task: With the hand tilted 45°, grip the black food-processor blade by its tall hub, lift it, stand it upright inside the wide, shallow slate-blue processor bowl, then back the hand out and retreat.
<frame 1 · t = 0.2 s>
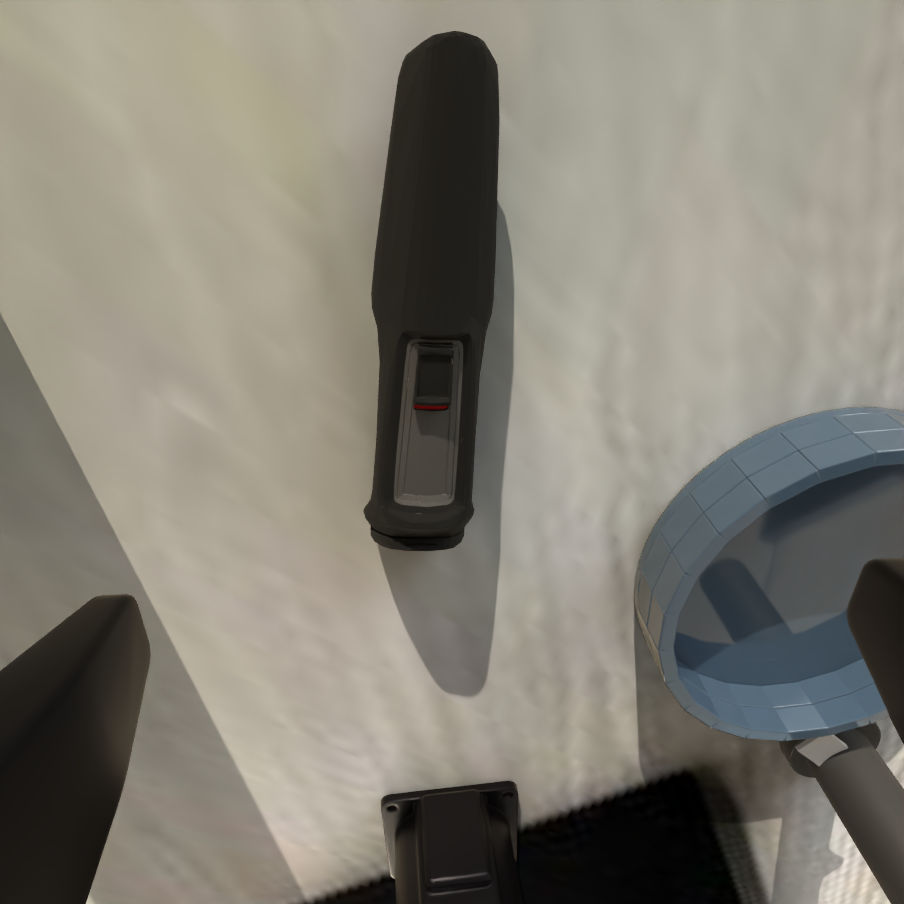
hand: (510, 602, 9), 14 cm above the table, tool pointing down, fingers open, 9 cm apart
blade: (823, 731, 35), on the table
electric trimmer: (421, 330, 22), on the table
bowl: (805, 562, 29), on the table
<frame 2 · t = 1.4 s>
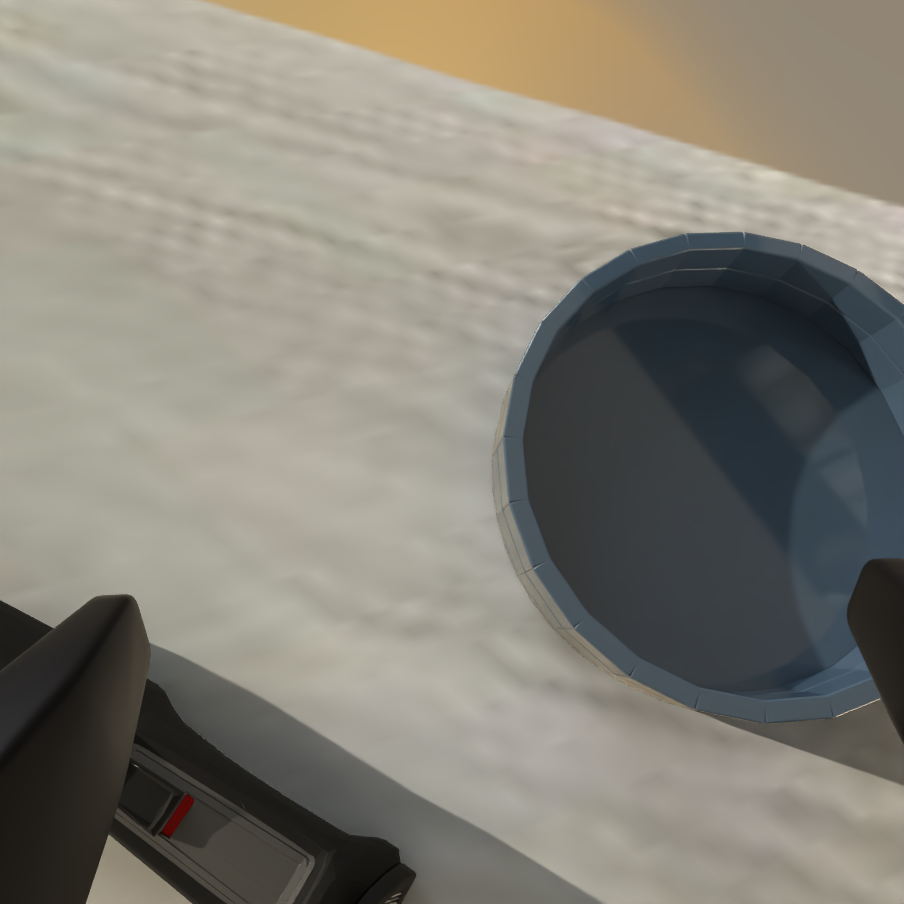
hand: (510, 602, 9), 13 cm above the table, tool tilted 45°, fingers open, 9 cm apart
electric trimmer: (164, 771, 20), on the table
bowl: (709, 478, 23), on the table
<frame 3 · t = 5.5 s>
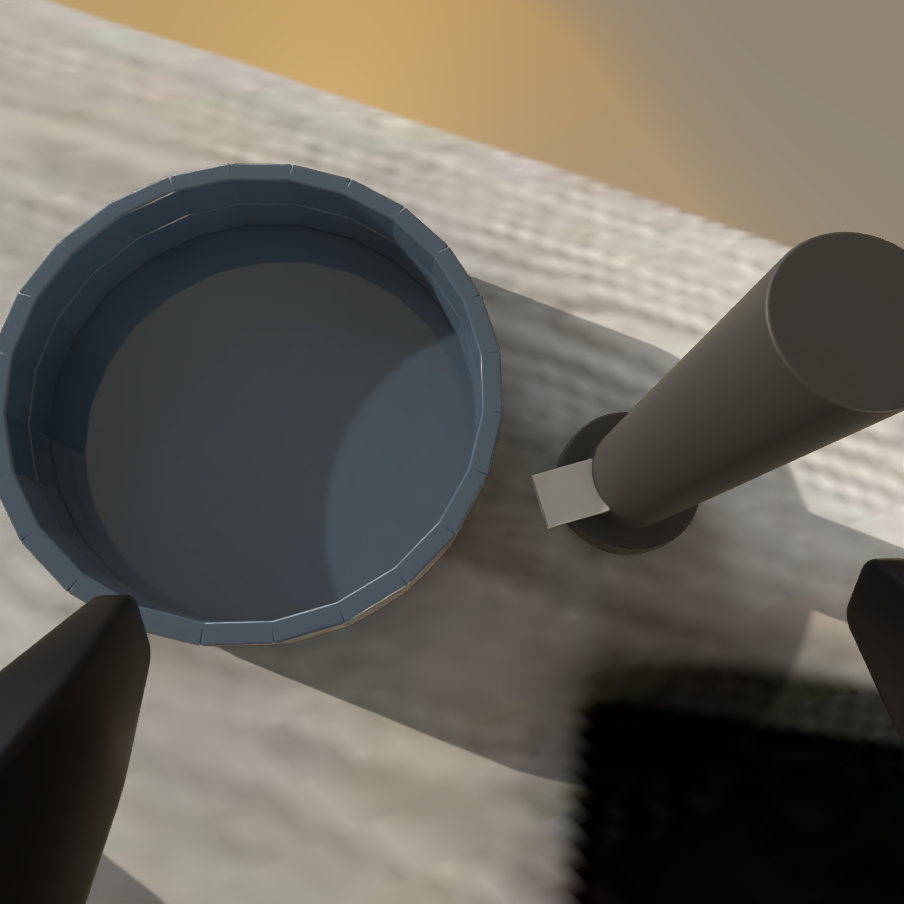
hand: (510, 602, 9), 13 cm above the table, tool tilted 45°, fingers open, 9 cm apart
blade: (622, 486, 23), on the table
bowl: (270, 414, 23), on the table
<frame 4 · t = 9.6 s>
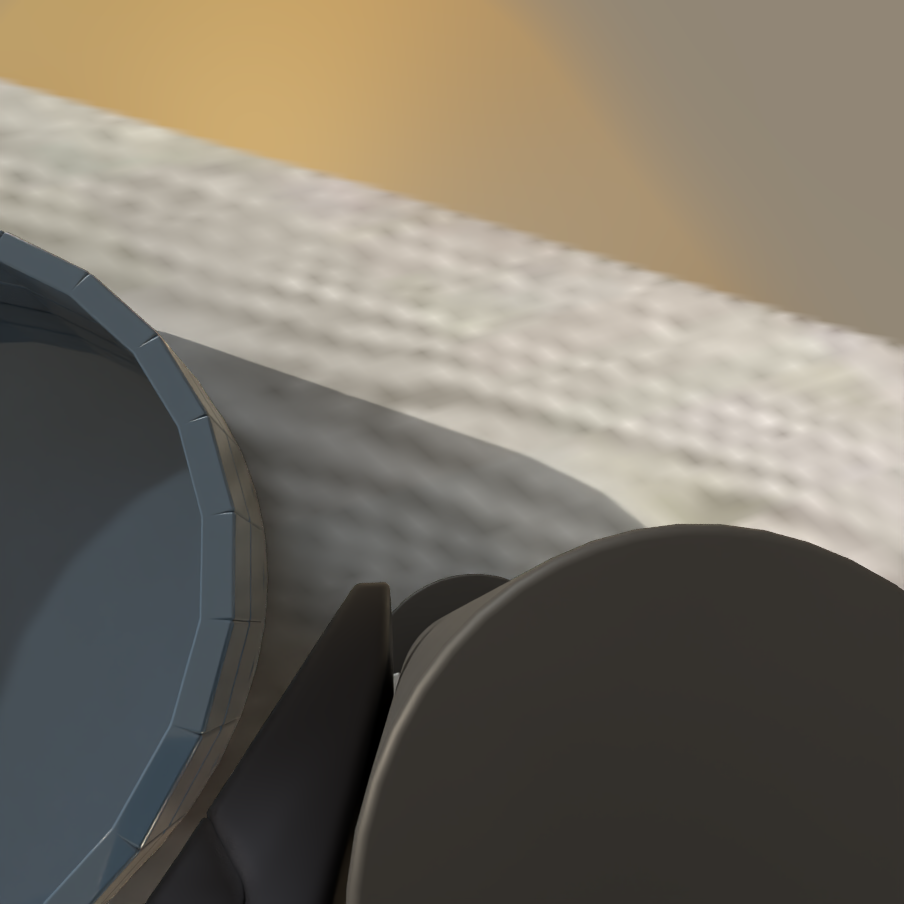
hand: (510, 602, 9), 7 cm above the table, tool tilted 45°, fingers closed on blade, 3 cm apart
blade: (472, 684, 15), on the table, touching gripper
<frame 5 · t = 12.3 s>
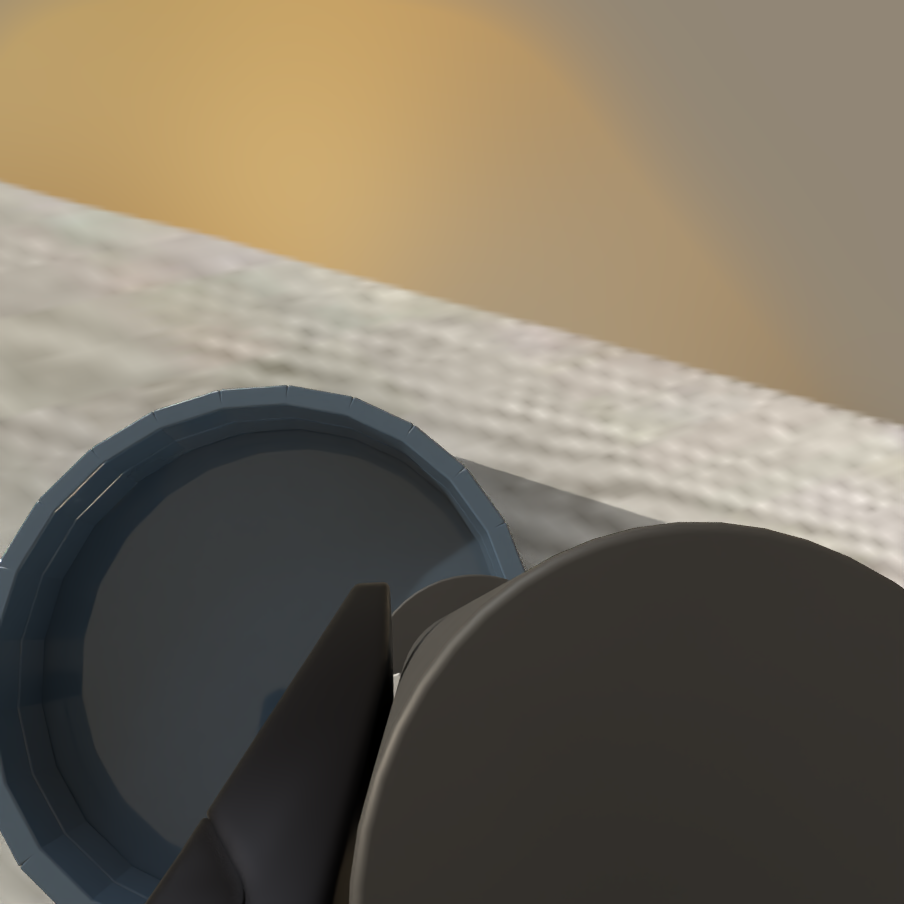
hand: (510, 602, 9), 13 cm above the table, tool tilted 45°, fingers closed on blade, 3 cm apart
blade: (472, 684, 15), point 6 cm above the table, touching gripper
bowl: (281, 648, 21), on the table
when the fingers open (7 cm above the table, at t = 14.9 s): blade stays where it is, resting on bowl.
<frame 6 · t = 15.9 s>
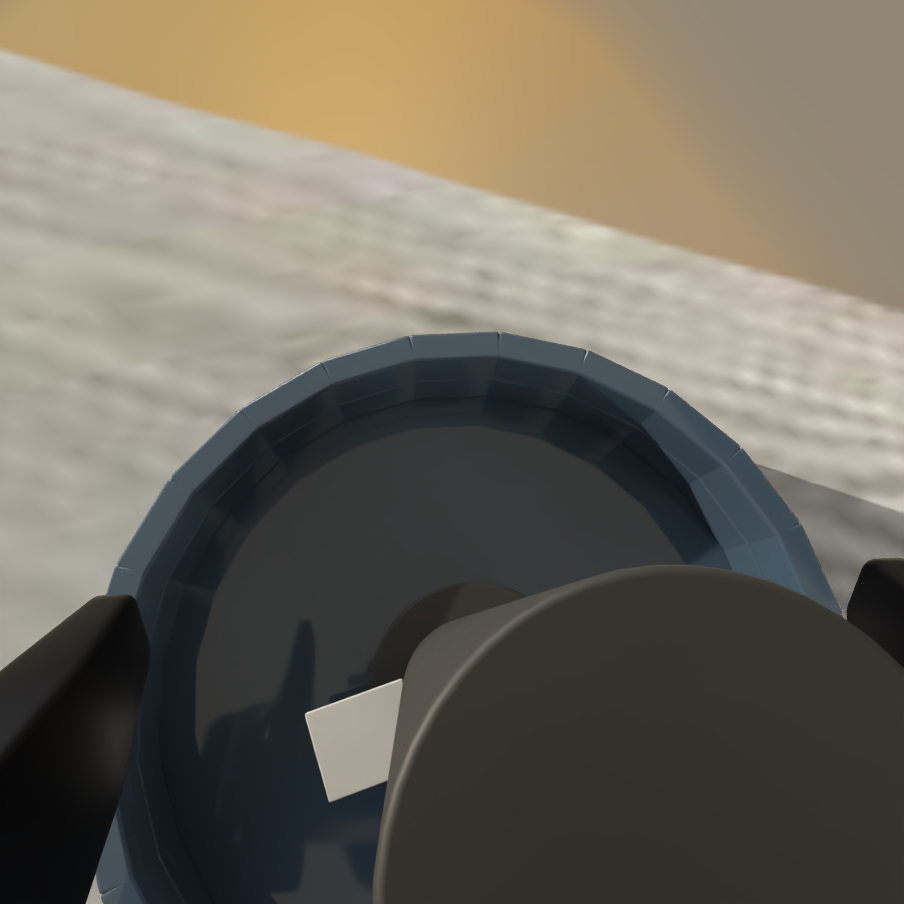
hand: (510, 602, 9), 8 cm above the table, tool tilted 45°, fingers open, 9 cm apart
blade: (472, 688, 15), resting on bowl
bowl: (468, 682, 16), on the table
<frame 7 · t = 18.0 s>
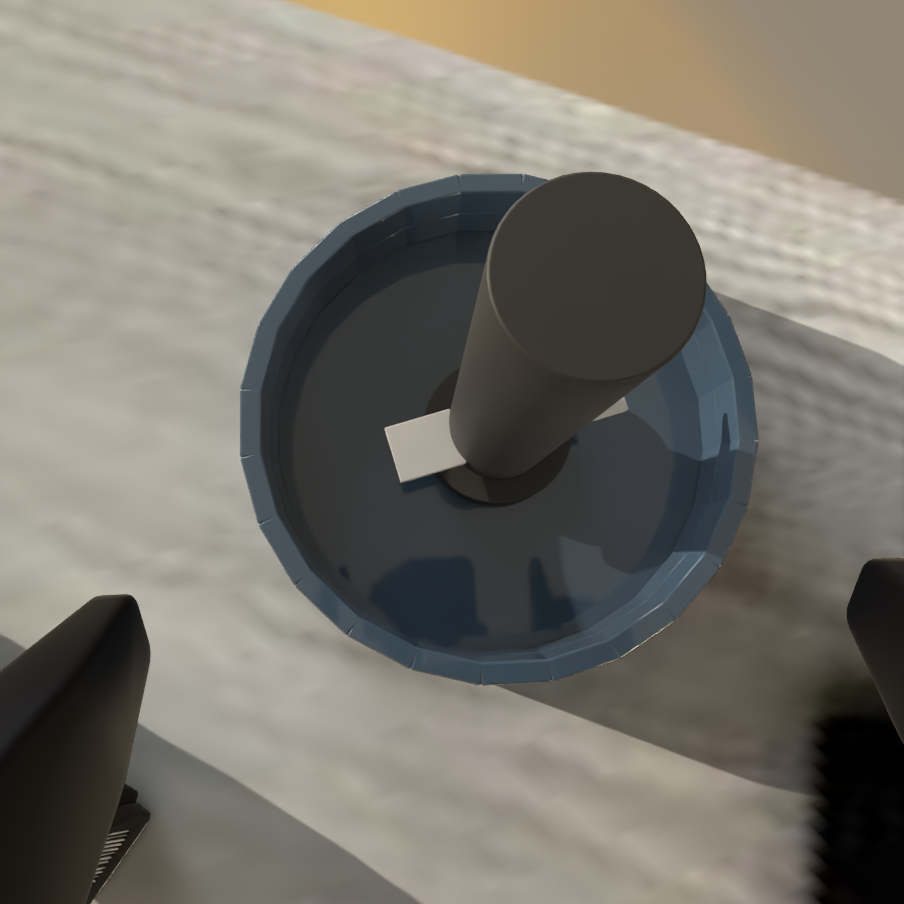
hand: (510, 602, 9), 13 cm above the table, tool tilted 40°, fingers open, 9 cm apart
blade: (494, 434, 22), resting on bowl
bowl: (491, 433, 22), on the table
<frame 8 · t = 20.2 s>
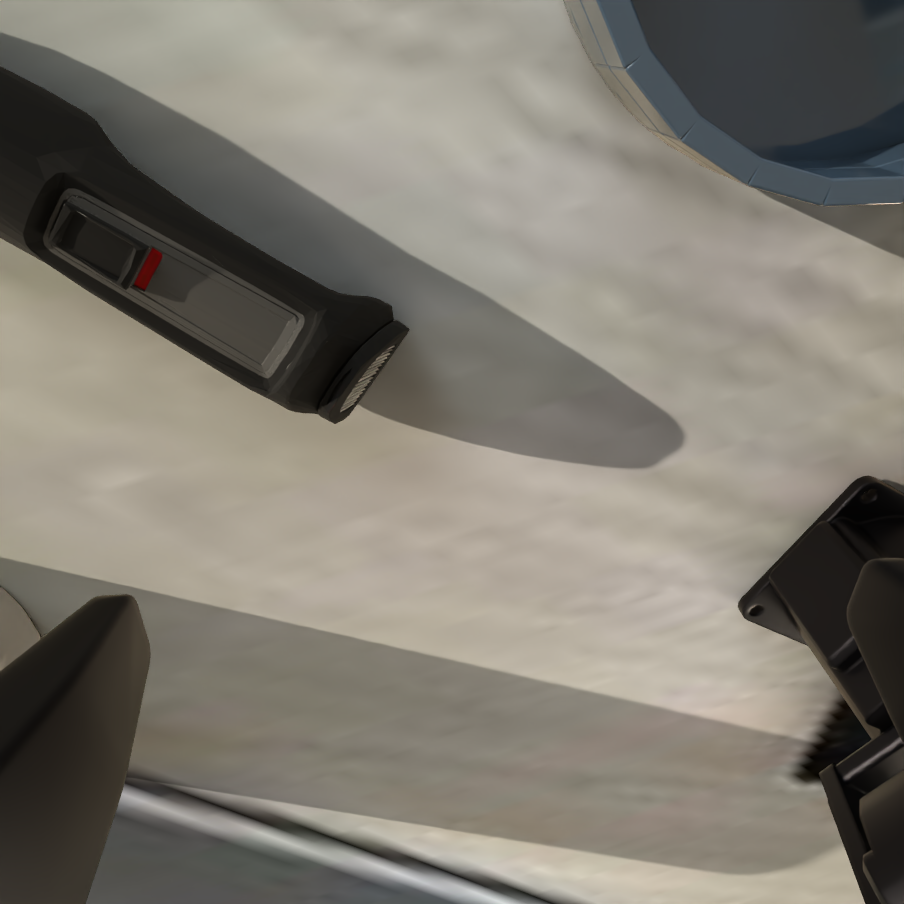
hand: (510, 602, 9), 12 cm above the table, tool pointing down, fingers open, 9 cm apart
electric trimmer: (124, 215, 18), on the table
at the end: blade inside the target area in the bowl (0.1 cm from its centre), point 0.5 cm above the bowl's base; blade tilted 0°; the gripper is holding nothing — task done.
